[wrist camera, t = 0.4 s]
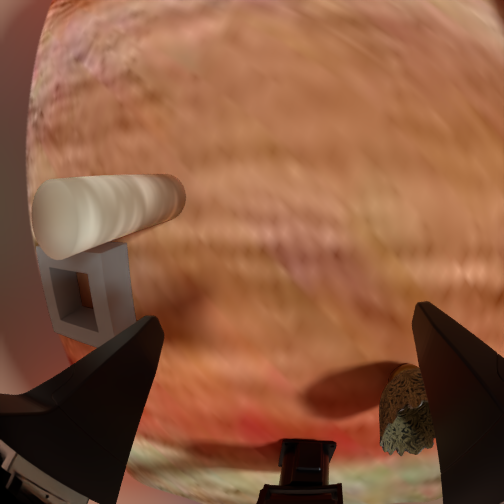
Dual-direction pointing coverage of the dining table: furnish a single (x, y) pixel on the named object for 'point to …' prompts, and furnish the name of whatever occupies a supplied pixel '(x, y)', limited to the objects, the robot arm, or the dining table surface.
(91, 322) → the socket block
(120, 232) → the peg
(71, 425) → the robot arm
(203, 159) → the dining table surface
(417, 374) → the cup
